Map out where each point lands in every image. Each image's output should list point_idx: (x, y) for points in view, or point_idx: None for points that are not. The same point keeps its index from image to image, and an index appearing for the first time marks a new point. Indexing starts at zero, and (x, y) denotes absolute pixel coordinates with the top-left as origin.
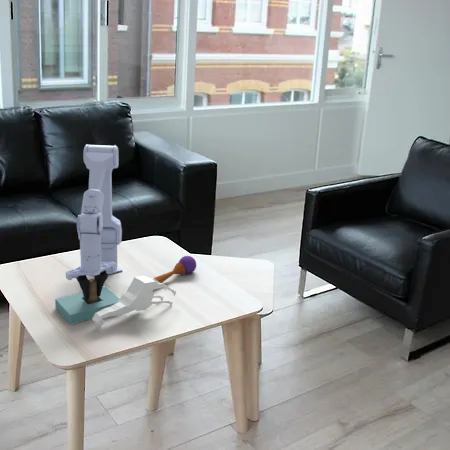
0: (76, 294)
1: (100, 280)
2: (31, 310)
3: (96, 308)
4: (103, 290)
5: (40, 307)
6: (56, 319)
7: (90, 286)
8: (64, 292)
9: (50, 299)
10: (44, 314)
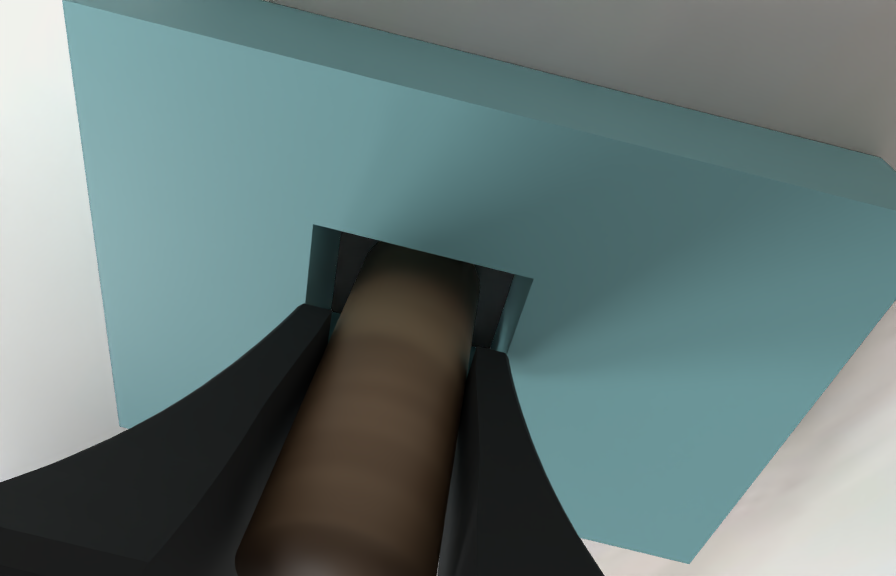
0: None
1: (194, 506)
2: (830, 558)
3: (523, 113)
4: (181, 387)
5: (743, 546)
6: None
7: (417, 493)
8: None
9: None
10: (830, 466)
